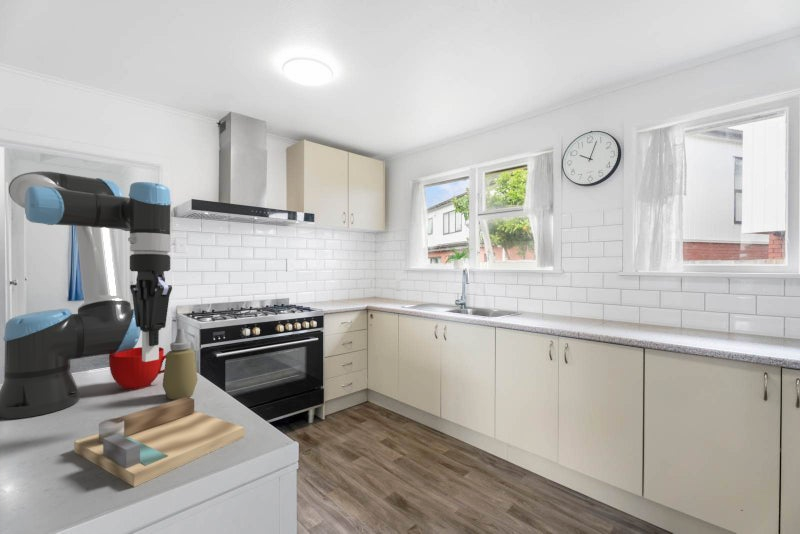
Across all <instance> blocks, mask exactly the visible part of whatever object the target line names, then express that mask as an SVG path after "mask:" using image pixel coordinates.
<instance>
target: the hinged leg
mask: <svg viewBox="0 0 800 534" xmlns="http://www.w3.org/2000/svg"><path fill="white" fill-rule="evenodd" d="M194 411H195V399H194V398H191V397H185V398H181V399H174V400H172V401H169V402H165V403H162V404H157V405H155V406H152V407H148V408H145V409H142V410H139V411H136V412H135V411H134V412H131V413H128V414H125V415H121V416H119V417H115V418H109V419H106V420H103V421H100V423H98V433H99V442H101V443H103V438H106V437H109V436H112V435H115V434H118V435H120V436H122V437H125V436H128V435H131V434H134V433H137V432H140V431H143V430H146V429H149V428H152V427H154V426H157V425H160V424H163V423H166V422H169V421H172V420H175V419H178V418H181V417H184V416H186V415H189V414H192V413H194Z"/></svg>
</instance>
